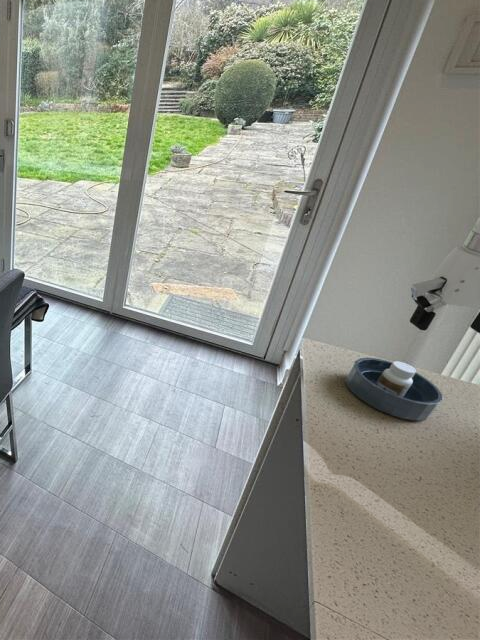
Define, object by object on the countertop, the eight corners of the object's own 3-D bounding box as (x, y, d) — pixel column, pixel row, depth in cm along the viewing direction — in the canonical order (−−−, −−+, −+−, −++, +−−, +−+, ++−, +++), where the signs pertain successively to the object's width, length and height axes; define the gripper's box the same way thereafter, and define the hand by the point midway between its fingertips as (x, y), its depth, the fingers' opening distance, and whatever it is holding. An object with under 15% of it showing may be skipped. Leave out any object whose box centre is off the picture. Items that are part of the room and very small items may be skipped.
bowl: (397, 380, 91) (409, 362, 88) (447, 427, 79) (462, 409, 77) (331, 371, 93) (340, 353, 91) (370, 416, 81) (382, 397, 79)
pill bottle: (367, 390, 87) (385, 362, 83) (379, 385, 88) (396, 357, 85) (393, 405, 83) (412, 376, 80) (404, 399, 85) (424, 370, 81)
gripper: (539, 241, 71) (484, 322, 78) (421, 234, 74) (380, 313, 81) (588, 260, 64) (524, 347, 71) (457, 251, 67) (408, 335, 75)
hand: (447, 329), depth 76 cm, fingers open, 9 cm apart
